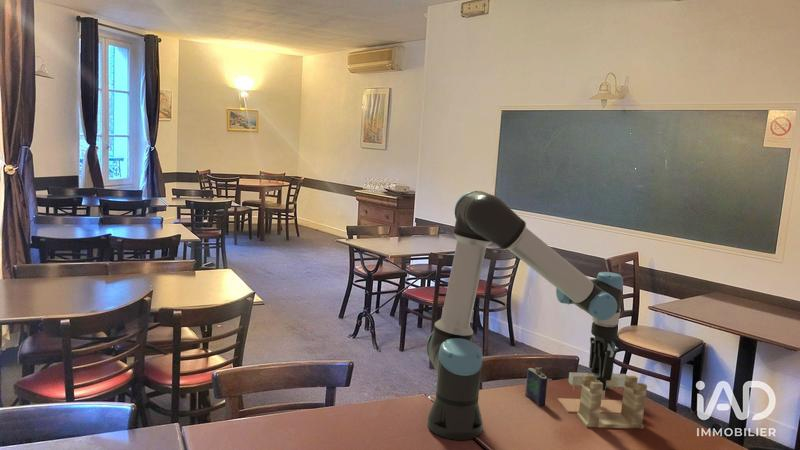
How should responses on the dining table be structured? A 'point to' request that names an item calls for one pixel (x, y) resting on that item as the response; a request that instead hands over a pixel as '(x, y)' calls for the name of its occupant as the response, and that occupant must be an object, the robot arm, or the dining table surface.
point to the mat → (606, 407)
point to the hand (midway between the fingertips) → (597, 396)
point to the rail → (577, 379)
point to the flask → (536, 386)
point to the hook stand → (593, 417)
